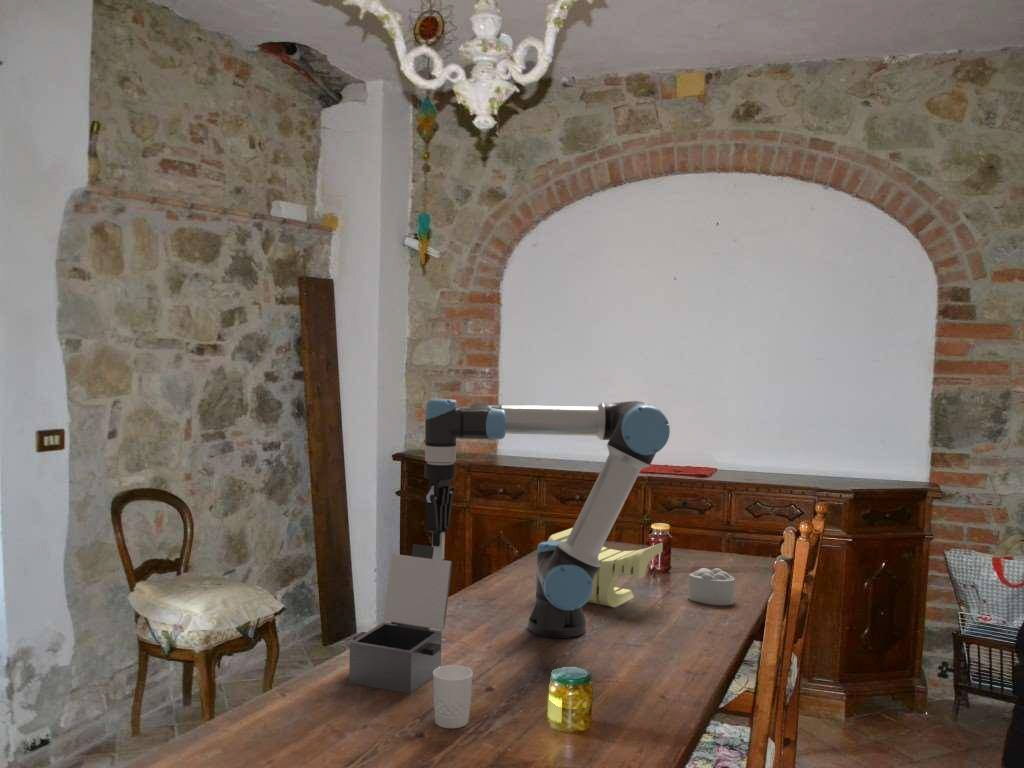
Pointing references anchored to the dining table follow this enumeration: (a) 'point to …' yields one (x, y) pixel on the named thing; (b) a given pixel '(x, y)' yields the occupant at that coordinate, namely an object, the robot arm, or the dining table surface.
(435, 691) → the white cup
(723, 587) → the lumpy-topped squat cylinder
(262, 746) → the dining table surface
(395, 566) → the lid
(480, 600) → the dining table surface
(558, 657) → the dining table surface
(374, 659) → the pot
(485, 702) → the dining table surface
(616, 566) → the pale yellow slotted stand
